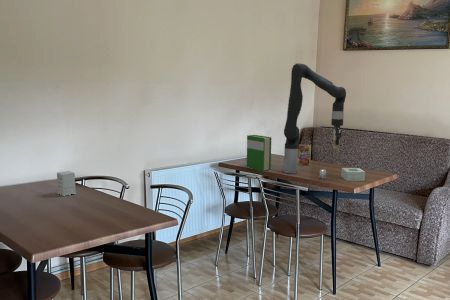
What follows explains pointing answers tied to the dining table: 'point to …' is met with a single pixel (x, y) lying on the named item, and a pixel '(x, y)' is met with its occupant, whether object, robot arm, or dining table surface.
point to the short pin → (322, 174)
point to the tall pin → (335, 147)
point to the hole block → (353, 174)
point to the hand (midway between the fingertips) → (336, 144)
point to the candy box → (304, 155)
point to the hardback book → (259, 152)
